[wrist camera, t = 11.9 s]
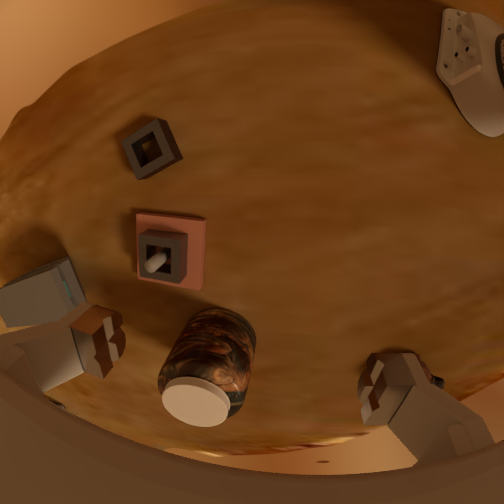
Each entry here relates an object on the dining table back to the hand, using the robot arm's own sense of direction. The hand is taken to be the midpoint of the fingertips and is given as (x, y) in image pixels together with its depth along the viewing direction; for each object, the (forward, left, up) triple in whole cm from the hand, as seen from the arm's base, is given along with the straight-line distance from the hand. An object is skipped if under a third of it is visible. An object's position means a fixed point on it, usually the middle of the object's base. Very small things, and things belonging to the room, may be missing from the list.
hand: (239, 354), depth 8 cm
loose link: (-6, -17, -29) cm, 34 cm away
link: (+8, -14, -28) cm, 32 cm away
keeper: (+8, -14, -29) cm, 33 cm away
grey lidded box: (+18, -39, -29) cm, 52 cm away
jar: (+22, -6, -29) cm, 37 cm away
